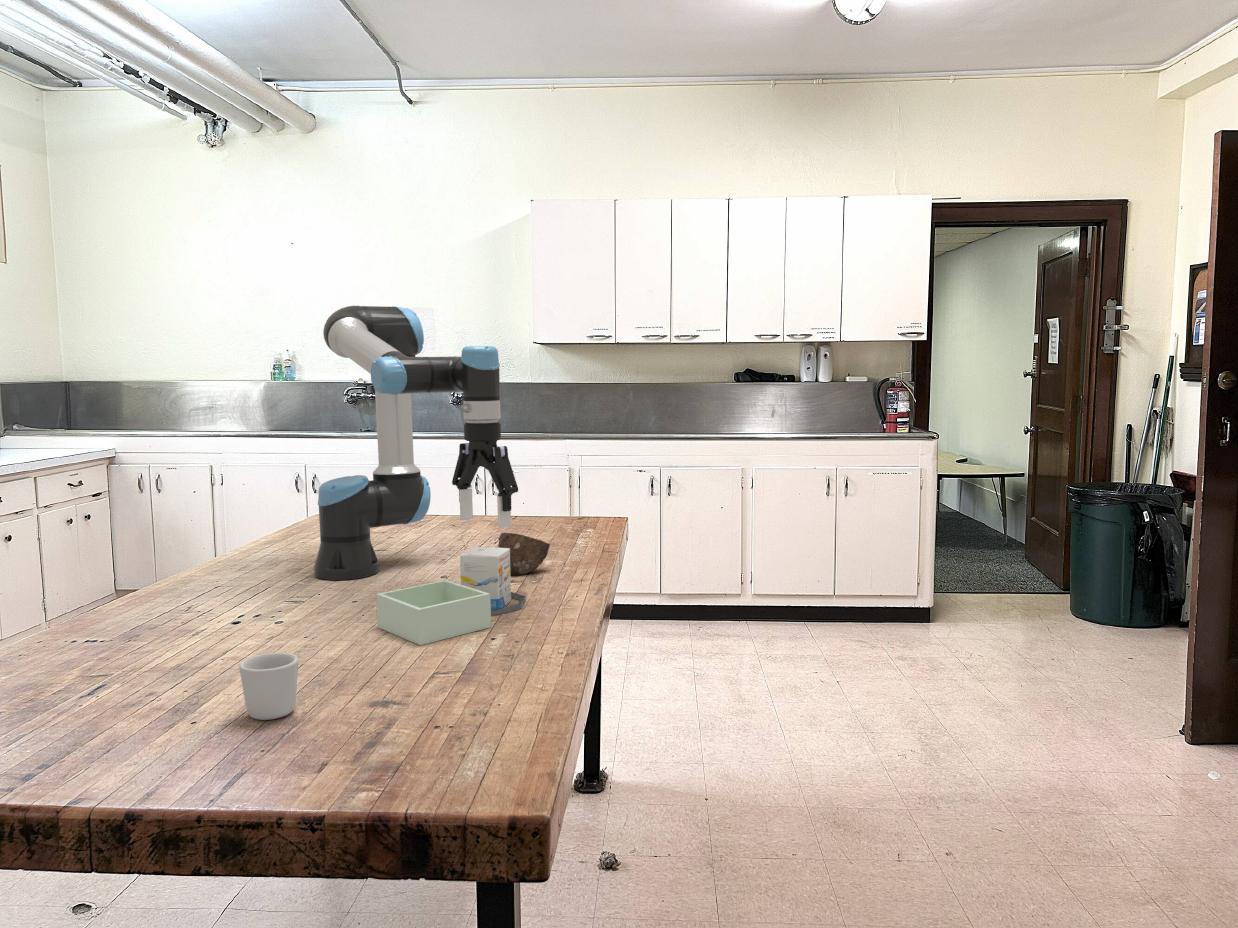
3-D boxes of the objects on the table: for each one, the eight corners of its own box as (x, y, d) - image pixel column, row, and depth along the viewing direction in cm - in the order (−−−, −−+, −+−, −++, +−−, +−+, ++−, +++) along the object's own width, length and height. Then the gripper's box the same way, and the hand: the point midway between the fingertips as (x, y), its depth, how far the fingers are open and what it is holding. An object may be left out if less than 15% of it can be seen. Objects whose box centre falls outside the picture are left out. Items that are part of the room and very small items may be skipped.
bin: (377, 627, 171) (376, 593, 170) (446, 611, 182) (445, 579, 181) (420, 645, 160) (418, 609, 159) (491, 627, 170) (490, 593, 170)
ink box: (499, 611, 181) (497, 555, 180) (460, 609, 183) (458, 554, 182) (512, 600, 190) (511, 547, 188) (475, 598, 191) (473, 545, 190)
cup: (258, 697, 135) (255, 646, 134) (311, 695, 136) (309, 645, 135) (234, 725, 125) (231, 671, 124) (292, 723, 125) (289, 669, 124)
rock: (549, 548, 220) (551, 532, 211) (540, 586, 215) (541, 571, 206) (501, 536, 220) (501, 520, 211) (490, 574, 215) (490, 559, 206)
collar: (434, 604, 187) (434, 600, 187) (495, 591, 197) (495, 586, 197) (477, 619, 175) (477, 614, 175) (538, 604, 186) (538, 600, 186)
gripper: (433, 420, 188) (437, 518, 191) (503, 424, 170) (506, 533, 173) (463, 418, 194) (466, 514, 196) (534, 422, 176) (536, 527, 178)
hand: (485, 523), depth 184 cm, fingers open, 13 cm apart
